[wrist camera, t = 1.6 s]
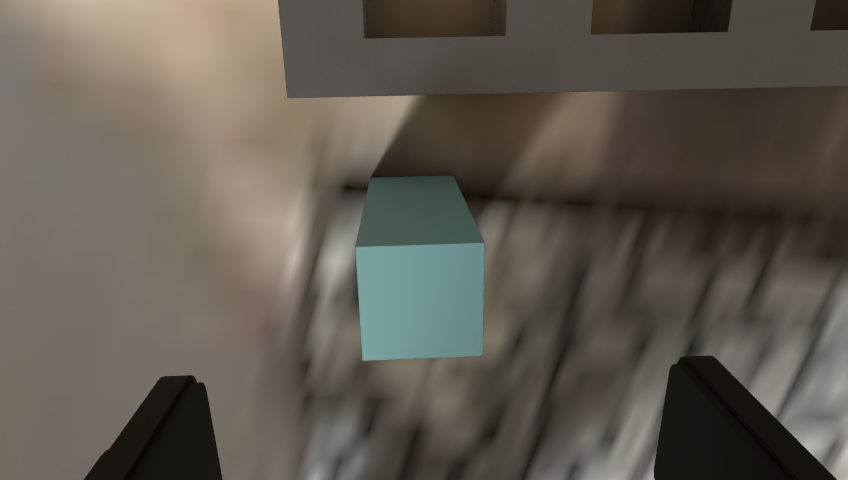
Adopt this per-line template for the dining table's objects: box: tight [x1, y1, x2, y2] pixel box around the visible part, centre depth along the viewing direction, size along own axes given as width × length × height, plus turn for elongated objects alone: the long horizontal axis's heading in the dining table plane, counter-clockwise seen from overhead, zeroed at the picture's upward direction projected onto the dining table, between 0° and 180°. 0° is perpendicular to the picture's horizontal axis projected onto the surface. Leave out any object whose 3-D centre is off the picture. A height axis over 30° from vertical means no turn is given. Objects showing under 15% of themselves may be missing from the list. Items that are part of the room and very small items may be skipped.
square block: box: [355, 175, 485, 361], centre depth 22 cm, size 4×4×10 cm
